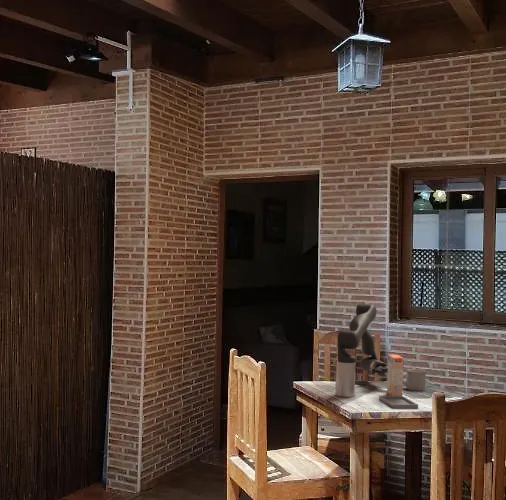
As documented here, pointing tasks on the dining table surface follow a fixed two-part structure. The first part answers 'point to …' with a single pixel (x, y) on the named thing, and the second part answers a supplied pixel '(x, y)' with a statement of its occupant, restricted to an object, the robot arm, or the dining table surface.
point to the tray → (398, 402)
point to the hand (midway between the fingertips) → (388, 372)
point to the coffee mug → (415, 379)
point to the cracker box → (395, 375)
